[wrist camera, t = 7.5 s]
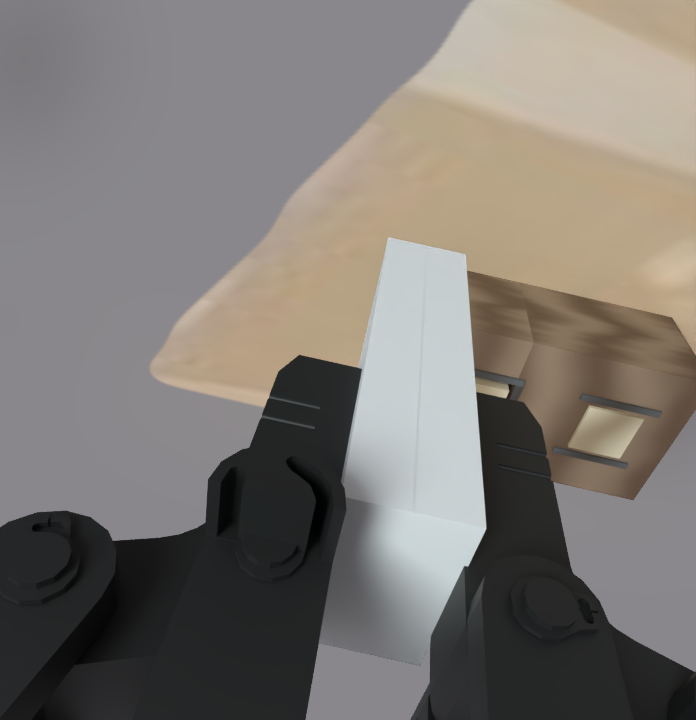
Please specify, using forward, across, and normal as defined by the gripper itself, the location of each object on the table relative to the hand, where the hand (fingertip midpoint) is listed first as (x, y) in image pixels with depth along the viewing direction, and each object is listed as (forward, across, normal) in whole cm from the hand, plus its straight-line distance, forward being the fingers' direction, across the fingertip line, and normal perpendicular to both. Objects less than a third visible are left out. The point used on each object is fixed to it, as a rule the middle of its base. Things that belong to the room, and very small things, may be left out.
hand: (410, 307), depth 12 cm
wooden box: (+34, +14, -21) cm, 42 cm away
